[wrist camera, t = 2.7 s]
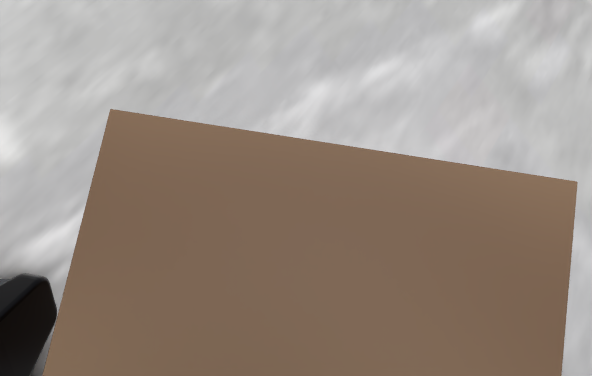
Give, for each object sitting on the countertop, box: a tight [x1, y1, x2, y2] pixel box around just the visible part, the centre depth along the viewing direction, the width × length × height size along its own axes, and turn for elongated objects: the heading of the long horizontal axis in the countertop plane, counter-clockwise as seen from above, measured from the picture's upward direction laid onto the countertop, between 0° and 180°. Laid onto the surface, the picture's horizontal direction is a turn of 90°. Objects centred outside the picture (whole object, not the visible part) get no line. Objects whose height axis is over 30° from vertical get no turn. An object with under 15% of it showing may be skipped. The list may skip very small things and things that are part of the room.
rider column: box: [42, 109, 577, 376], centre depth 10 cm, size 4×4×12 cm
